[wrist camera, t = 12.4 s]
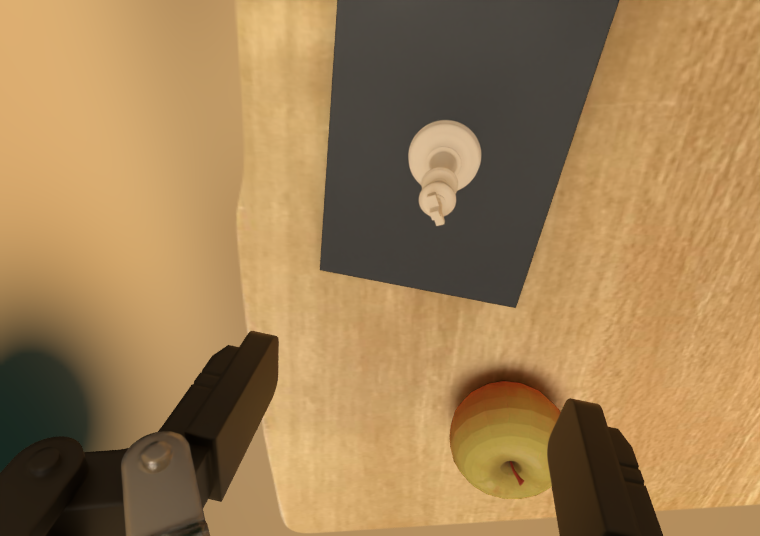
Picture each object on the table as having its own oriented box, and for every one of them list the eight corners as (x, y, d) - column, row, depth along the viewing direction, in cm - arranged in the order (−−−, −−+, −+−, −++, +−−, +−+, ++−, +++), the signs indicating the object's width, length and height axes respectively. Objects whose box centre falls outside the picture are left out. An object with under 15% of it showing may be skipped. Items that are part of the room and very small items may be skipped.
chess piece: (420, 198, 34) (404, 267, 25) (399, 132, 32) (372, 183, 23) (488, 180, 32) (495, 246, 24) (470, 109, 30) (471, 155, 22)
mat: (342, -53, 27) (340, -54, 27) (621, -14, 26) (624, -14, 26) (321, 267, 39) (319, 270, 38) (515, 304, 38) (515, 308, 37)
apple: (569, 436, 44) (588, 518, 37) (466, 447, 47) (466, 525, 40) (549, 356, 40) (566, 431, 33) (438, 373, 43) (432, 446, 36)
